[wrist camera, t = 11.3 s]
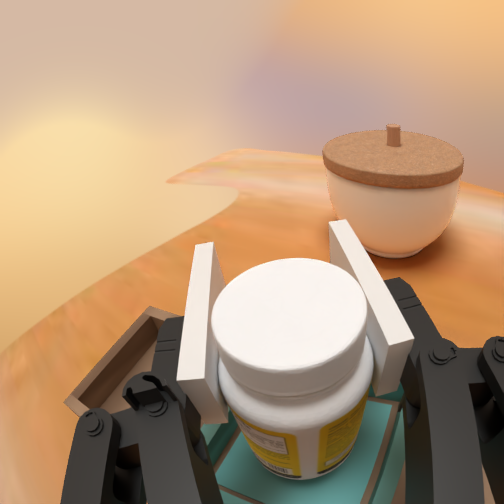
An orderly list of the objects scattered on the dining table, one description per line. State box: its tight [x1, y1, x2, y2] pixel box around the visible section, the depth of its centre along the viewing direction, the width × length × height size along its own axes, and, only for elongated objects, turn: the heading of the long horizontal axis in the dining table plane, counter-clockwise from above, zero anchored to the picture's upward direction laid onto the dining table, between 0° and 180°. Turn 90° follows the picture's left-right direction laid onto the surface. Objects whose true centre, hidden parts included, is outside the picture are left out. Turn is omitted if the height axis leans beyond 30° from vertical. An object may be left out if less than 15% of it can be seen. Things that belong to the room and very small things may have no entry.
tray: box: [64, 306, 495, 504], centre depth 13 cm, size 27×10×3 cm, turn 63°
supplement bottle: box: [211, 258, 374, 480], centre depth 10 cm, size 5×5×8 cm
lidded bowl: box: [322, 124, 464, 258], centre depth 26 cm, size 13×13×11 cm
